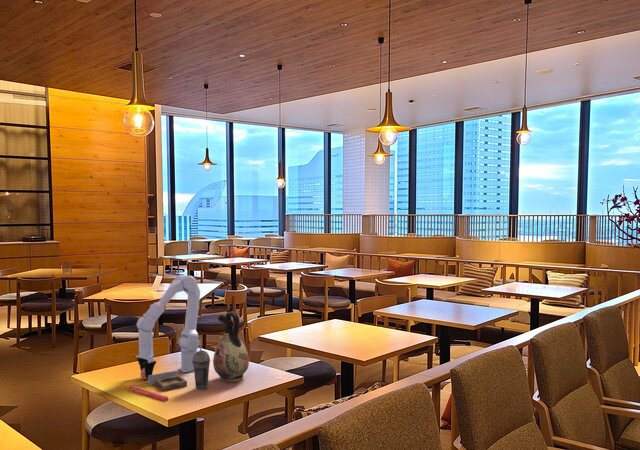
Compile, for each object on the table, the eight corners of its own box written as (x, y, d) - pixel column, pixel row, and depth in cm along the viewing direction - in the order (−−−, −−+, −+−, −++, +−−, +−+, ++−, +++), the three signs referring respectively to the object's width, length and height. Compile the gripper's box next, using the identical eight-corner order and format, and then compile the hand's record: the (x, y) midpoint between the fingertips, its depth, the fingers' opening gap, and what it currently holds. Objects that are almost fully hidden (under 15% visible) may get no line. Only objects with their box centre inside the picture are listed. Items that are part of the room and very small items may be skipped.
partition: (175, 378, 215) (175, 369, 215) (178, 380, 212) (177, 371, 212) (147, 384, 208) (147, 374, 208) (149, 386, 205) (149, 376, 205)
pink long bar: (135, 390, 204) (125, 390, 200) (136, 385, 204) (127, 384, 201) (172, 402, 190) (162, 402, 186) (173, 396, 190) (163, 396, 186)
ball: (150, 376, 218) (150, 365, 218) (154, 379, 214) (153, 367, 214) (139, 378, 216) (139, 367, 216) (142, 381, 212) (142, 370, 211)
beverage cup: (194, 392, 196) (193, 343, 196) (190, 387, 203) (189, 339, 203) (212, 389, 200) (211, 340, 199) (208, 384, 206) (207, 337, 206)
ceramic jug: (206, 379, 212) (204, 311, 212) (234, 371, 224) (233, 306, 223) (229, 388, 201) (228, 315, 200) (259, 379, 212) (257, 310, 212)
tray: (179, 380, 213) (179, 375, 212) (186, 386, 204) (186, 381, 204) (155, 384, 207) (155, 379, 207) (162, 391, 199) (162, 386, 199)
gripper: (132, 342, 219) (132, 372, 219) (140, 349, 207) (141, 381, 207) (148, 340, 223) (149, 370, 223) (157, 346, 211) (158, 378, 211)
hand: (146, 375), depth 215 cm, fingers open, 7 cm apart
